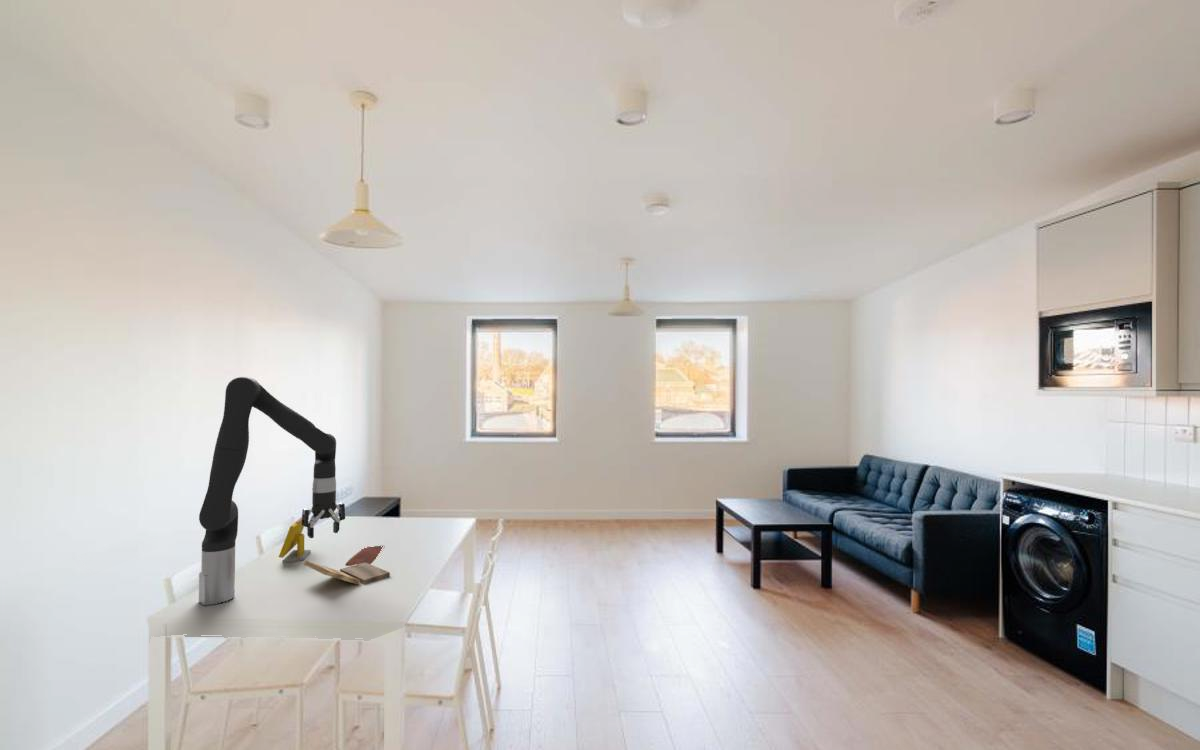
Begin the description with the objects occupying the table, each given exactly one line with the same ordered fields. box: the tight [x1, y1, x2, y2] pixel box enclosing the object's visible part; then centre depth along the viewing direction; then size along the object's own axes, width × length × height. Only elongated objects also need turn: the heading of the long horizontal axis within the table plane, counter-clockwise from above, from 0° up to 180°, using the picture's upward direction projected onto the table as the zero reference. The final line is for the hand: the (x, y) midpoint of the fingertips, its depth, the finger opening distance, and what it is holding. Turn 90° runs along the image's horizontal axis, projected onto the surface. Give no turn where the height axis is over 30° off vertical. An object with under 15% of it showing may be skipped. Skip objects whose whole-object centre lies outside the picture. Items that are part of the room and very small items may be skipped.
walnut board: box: [339, 562, 391, 585], centre depth 203 cm, size 10×18×2 cm, turn 51°
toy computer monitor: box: [278, 516, 311, 563], centre depth 224 cm, size 20×8×16 cm, turn 14°
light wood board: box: [303, 560, 361, 585], centre depth 194 cm, size 14×16×2 cm
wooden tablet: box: [345, 545, 384, 567], centre depth 227 cm, size 27×10×2 cm, turn 7°
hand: (323, 535), depth 192 cm, fingers open, 8 cm apart
